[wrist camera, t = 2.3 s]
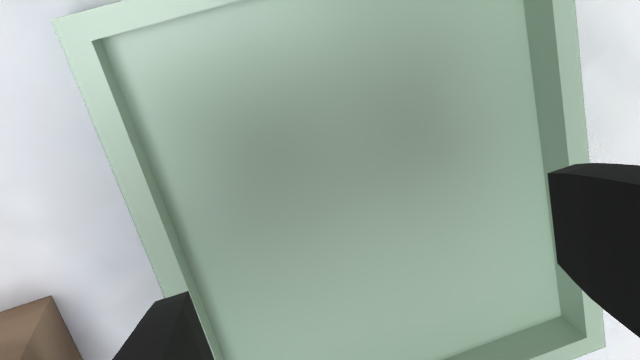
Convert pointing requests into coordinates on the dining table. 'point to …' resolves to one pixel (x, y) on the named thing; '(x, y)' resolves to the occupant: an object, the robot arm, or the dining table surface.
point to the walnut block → (36, 333)
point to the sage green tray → (347, 170)
